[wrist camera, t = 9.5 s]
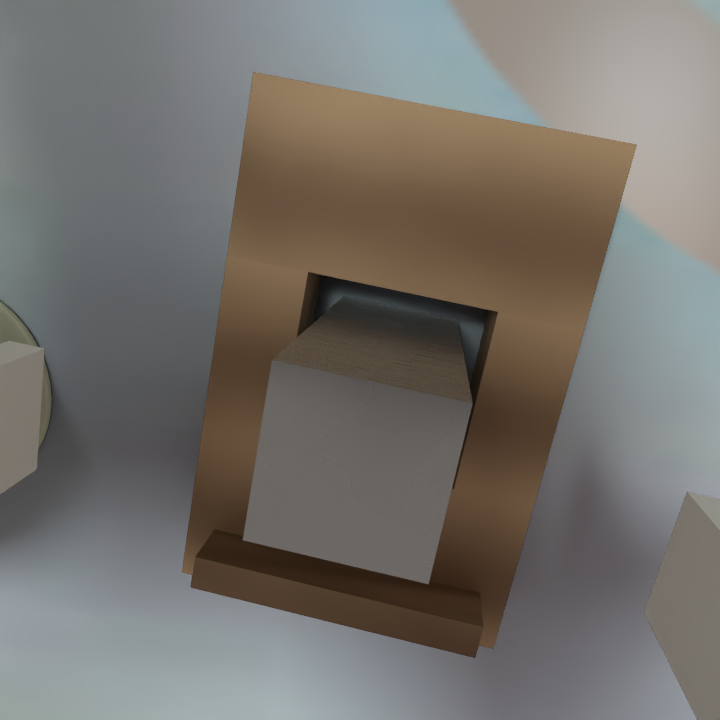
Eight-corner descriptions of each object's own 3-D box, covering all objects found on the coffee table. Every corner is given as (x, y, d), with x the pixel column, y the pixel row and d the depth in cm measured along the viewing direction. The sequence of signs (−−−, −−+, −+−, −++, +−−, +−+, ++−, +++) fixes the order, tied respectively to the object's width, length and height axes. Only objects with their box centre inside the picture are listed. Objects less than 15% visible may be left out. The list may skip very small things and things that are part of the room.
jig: (276, 89, 23) (234, 57, 18) (610, 153, 22) (659, 137, 18) (208, 534, 28) (160, 602, 23) (487, 601, 27) (498, 687, 22)
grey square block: (343, 296, 25) (271, 360, 14) (457, 319, 24) (472, 403, 14) (323, 404, 26) (242, 540, 15) (432, 428, 25) (428, 584, 15)
